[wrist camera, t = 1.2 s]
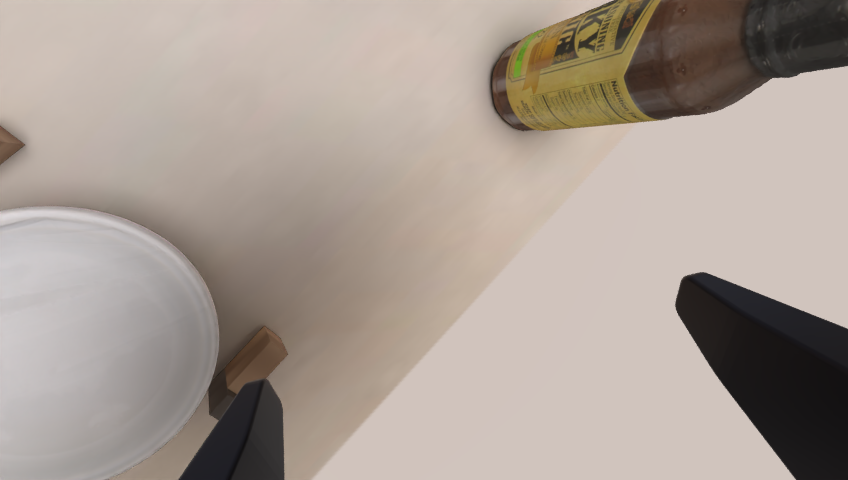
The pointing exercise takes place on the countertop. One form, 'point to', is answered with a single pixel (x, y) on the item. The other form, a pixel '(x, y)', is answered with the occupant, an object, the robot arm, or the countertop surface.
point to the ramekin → (96, 343)
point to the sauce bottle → (663, 59)
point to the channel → (246, 364)
